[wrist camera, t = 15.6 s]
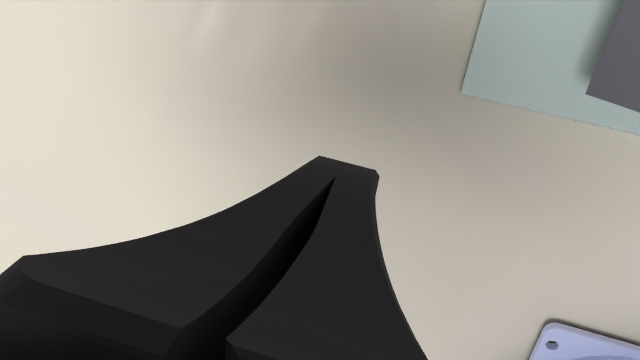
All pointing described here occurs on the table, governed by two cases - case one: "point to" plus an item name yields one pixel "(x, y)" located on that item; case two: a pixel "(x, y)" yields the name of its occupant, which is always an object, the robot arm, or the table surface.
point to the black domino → (620, 61)
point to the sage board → (546, 59)
